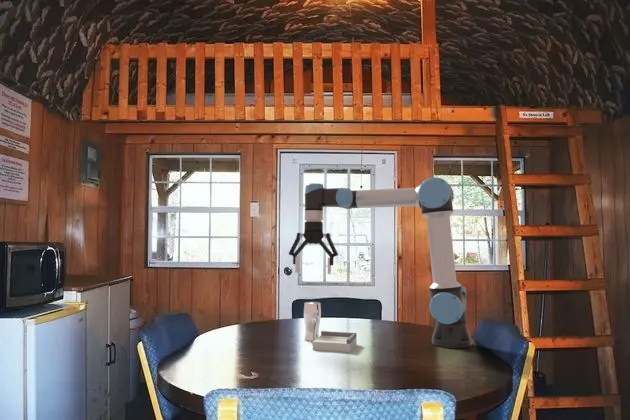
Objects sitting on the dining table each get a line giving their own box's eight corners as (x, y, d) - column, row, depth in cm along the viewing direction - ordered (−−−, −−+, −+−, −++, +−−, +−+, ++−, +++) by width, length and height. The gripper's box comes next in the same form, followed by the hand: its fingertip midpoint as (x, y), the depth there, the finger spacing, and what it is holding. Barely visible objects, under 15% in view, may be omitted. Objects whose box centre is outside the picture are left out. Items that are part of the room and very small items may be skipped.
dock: (356, 344, 202) (356, 332, 202) (349, 352, 189) (349, 339, 189) (321, 342, 206) (321, 331, 206) (312, 349, 192) (312, 337, 192)
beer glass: (300, 340, 209) (301, 303, 210) (307, 337, 215) (307, 301, 216) (316, 342, 206) (317, 304, 207) (323, 339, 213) (323, 302, 214)
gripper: (345, 221, 213) (344, 273, 212) (287, 221, 219) (286, 271, 218) (341, 221, 206) (341, 274, 205) (282, 220, 212) (281, 272, 211)
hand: (312, 273), depth 212 cm, fingers open, 13 cm apart
